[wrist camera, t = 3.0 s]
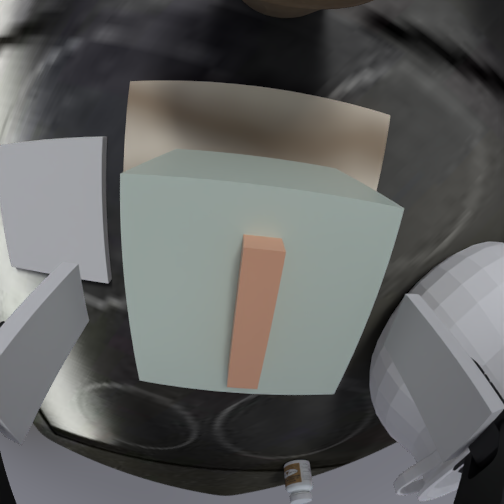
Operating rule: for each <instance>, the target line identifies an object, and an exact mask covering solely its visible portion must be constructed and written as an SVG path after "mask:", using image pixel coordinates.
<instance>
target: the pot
mask: <svg viewBox="0 0 504 504" xmlns="http://www.w3.org/2000/svg"><path fill="white" fill-rule="evenodd" d="M407 294H419V295H420V296H421V297H422V298H423V299H424V301H425V302H426V303H427V304H428V305H429V306H430V308H431V309H432V310H433V311H434V312H435V313H436V315H437V316H438V317H439V318H440V319H441V321H442V322H443V323H444V324H445V325H446V327H447V328H448V329H449V330H450V332H451V333H452V334H453V335H454V337H455V338H456V339H457V340H458V342H459V343H460V344H461V345H462V347H463V348H464V349H465V351H466V352H467V353H468V355H469V356H470V357H471V358H472V359H474V360H475V361H476V362H477V363H478V364H479V365H480V367H481V368H482V369H483V371H484V372H485V373H484V374H486V375H487V376H488V378H489V379H490V382H492V383H493V385H494V386H495V388H496V389H497V390H498V392H499V393H500V395H501V396H502V398H503V399H504V243H502V242H489V241H488V242H484V243H480V244H475V245H472V246H470V247H468V248H466V249H464V250H462V251H460V252H458V253H456V254H454V255H452V256H450V257H448V258H447V259H445V260H444V261H443V262H441V263H440V264H438V265H437V266H435V267H434V268H433V269H432V270H431V271H429V272H428V273H427V274H426V275H425V276H424V277H423V278H422V279H420V280H419V281H418V282H417V283H416V285H415V286H414V287H413V288H412V289H411V290H410V291H409V292H408V293H407ZM402 301H403V299H402ZM402 301H401V302H400V304H399V305H398V306H397V308H396V309H395V311H394V312H393V313H392V315H391V316H390V318H389V320H388V322H387V324H386V326H385V328H384V329H383V331H382V333H381V335H380V337H379V339H378V341H377V344H376V347H375V349H374V352H373V355H372V358H371V365H370V382H369V387H370V394H371V400H372V403H373V406H374V409H375V412H376V415H377V416H378V418H379V420H380V421H381V423H382V424H383V426H384V427H385V429H386V430H387V432H388V433H389V435H390V436H391V437H392V438H393V439H394V440H396V441H397V442H398V443H399V444H400V445H402V446H403V447H404V448H405V449H406V450H407V451H408V452H409V453H410V454H411V455H412V456H413V457H414V458H415V460H416V462H417V463H416V464H415V465H413V466H412V467H410V468H409V469H407V470H406V471H404V472H403V473H402V474H401V475H399V477H398V478H397V479H396V480H395V482H394V488H395V491H396V494H397V495H409V494H413V493H416V492H419V493H418V494H417V498H418V500H419V501H428V500H431V499H435V498H438V497H441V496H444V495H446V494H448V493H450V492H453V491H455V490H457V489H458V486H459V482H460V479H461V474H462V473H460V472H458V471H459V470H460V468H462V467H463V466H464V464H462V465H461V466H460V467H459V468H458V469H456V470H455V471H454V470H453V468H454V466H455V465H456V464H457V463H458V462H459V461H461V460H462V459H463V458H464V457H465V456H466V455H467V454H468V453H470V450H469V448H467V449H466V450H465V451H463V452H462V453H461V454H460V455H459V456H458V457H456V458H454V459H451V460H449V461H446V462H444V463H443V462H442V460H441V457H440V455H439V453H438V451H437V449H436V446H435V444H434V442H433V440H432V438H431V435H430V433H429V431H428V429H427V427H426V425H425V423H424V421H423V419H422V417H421V415H420V413H419V410H418V408H417V406H416V404H415V402H414V400H413V399H412V397H411V395H410V393H409V391H408V389H407V387H406V385H405V383H404V381H403V379H402V377H401V375H400V373H399V372H398V370H397V368H396V366H395V364H394V362H393V360H392V359H391V357H390V355H389V353H388V351H387V350H386V348H385V346H384V342H385V340H386V338H387V336H388V334H389V331H390V329H391V327H392V325H393V322H394V320H395V318H396V315H397V313H398V311H399V308H400V306H401V303H402ZM421 476H423V479H421V480H418V481H415V480H416V479H418V478H419V477H421ZM413 481H414V482H413Z"/></svg>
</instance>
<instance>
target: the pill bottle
mask: <svg viewBox="0 0 504 504" xmlns="http://www.w3.org/2000/svg"><path fill="white" fill-rule="evenodd" d="M284 475H285V486H286V491H287V492H288V493H290V494H291V495H290V503H291V504H304V503H308V502H310V501H311V500H312V494H311V492H310V490H312V488H313V482H312V475H311V469H310V463H309V461H307V460H293V461H290V462H287V463H286V464H285V465H284Z"/></svg>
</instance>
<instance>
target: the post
mask: <svg viewBox="0 0 504 504" xmlns="http://www.w3.org/2000/svg"><path fill="white" fill-rule="evenodd" d="M389 122H390V115H387V114H384V113H381V112H378V111H374V110H371V109H367V108H364V107H360V106H356V105H352V104H349V103H345V102H341V101H336V100H332V99H328V98H323V97H318V96H313V95H308V94H303V93H298V92H292V91H286V90H280V89H273V88H266V87H259V86H251V85H241V84H231V83H219V82H203V81H130V88H129V96H128V106H127V117H126V130H125V146H124V172H125V171H127V170H129V169H131V168H133V167H136V166H138V165H140V164H142V163H144V162H147V161H149V160H151V159H154V158H156V157H158V156H161V155H163V154H165V153H168V152H170V151H173V150H175V149H187V150H201V151H214V152H224V153H234V154H244V155H252V156H261V157H268V158H276V159H283V160H290V161H296V162H303V163H309V164H315V165H320V166H326V167H332V168H336V169H338V170H340V171H342V172H343V173H345V174H347V175H349V176H351V177H352V178H354V179H356V180H358V181H360V182H361V183H363V184H365V185H367V186H368V187H370V188H372V189H373V190H375V191H377V186H378V182H379V177H380V172H381V167H382V162H383V157H384V151H385V146H386V140H387V134H388V128H389Z"/></svg>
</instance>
